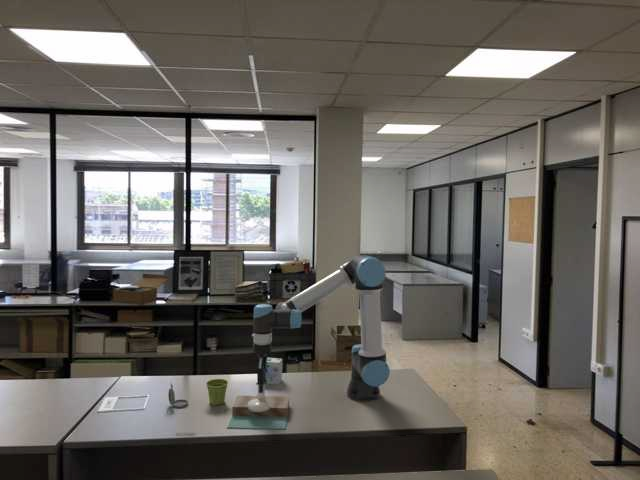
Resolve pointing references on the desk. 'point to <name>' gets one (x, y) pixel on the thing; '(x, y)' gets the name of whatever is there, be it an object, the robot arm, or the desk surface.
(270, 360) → the light bulb box
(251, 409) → the white domed disc
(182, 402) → the pocket watch
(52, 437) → the desk surface
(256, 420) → the mat
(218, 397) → the plant pot
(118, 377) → the desk surface
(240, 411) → the board
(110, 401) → the photo frame
